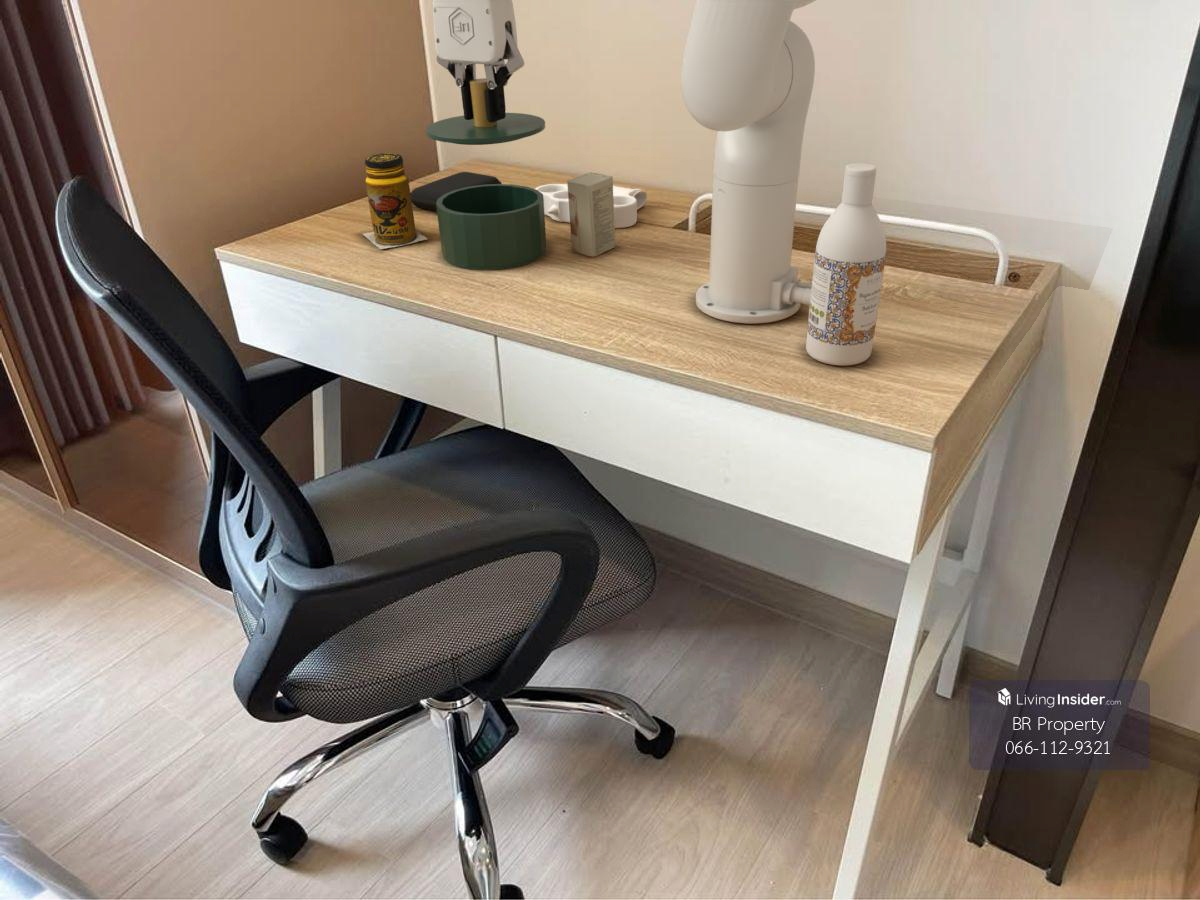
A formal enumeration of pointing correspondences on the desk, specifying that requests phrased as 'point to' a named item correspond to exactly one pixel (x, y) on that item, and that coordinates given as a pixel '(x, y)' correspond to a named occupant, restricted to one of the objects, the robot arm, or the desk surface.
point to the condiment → (389, 202)
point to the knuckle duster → (623, 198)
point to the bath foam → (847, 275)
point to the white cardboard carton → (591, 213)
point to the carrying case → (447, 188)
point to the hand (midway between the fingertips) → (485, 117)
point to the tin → (492, 226)
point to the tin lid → (484, 124)
